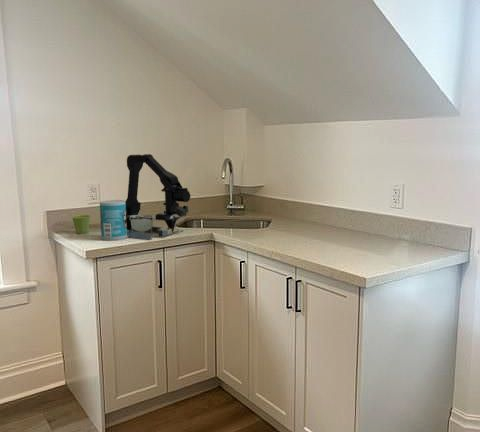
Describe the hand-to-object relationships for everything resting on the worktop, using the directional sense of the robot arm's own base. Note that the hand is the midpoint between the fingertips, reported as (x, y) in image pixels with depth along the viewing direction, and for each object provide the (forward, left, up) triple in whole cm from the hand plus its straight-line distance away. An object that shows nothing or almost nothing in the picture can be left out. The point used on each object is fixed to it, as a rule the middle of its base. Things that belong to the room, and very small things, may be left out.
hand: (171, 231), depth 244 cm
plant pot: (-43, -18, -2) cm, 47 cm away
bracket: (-9, -8, -1) cm, 12 cm away
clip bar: (0, -4, -1) cm, 4 cm away
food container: (-11, -8, -2) cm, 14 cm away
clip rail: (0, -1, -1) cm, 2 cm away
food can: (-19, -21, -2) cm, 28 cm away
